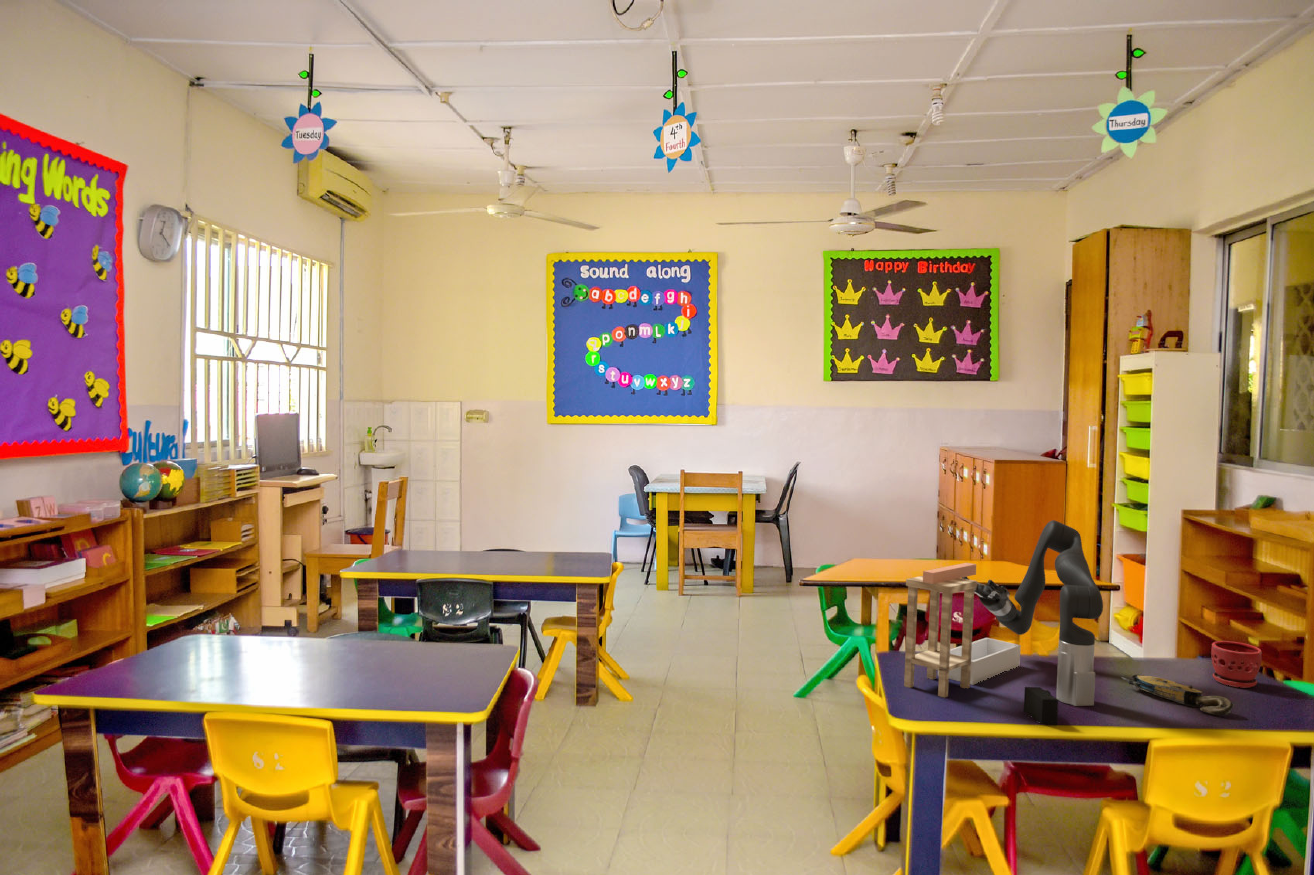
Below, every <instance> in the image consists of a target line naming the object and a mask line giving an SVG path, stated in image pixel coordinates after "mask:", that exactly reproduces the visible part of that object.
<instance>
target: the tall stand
mask: <svg viewBox="0 0 1314 875" xmlns="http://www.w3.org/2000/svg"><path fill="white" fill-rule="evenodd" d="M968 579H969V578H968ZM968 579H963V578H958V579H953V580H949V581H944V582H939V583H935V584H930V583H925V582H923V575H921V576H915V577H910V578H909V577H908V578H906V579H905V586H906V587H907V588H908V589H907V607H906V608H907V611H906V629H905V630H906V632H905V633H906V634H905V657H904V680H903V682H904V683H903V686H904V687H906V688H909V689H910V688H913V687H914V686H915V685H914V684H915V665H917V666H921V667H925V668H926V679H928V678H929V680H933V681H934V680H935V679H937V671H938V670H939V676H938V689H937V690H938V691H937V696H938V697H941V698H947V697H949V684H950V683H949V671H950V670H952V669H955V668H958V667H961V681H959V682H960V683H959V684H960V685H959V686H960V688H962V689H965V688H967V689H969V688H971V684H970V672H971V650H972V642H973V624H974V623H973V622H974V603H975V602H974V601H975V599H974V598H975V593H974V588H977V586H978V585H977V582H978V581H977V580H973V579H969V580H968ZM918 589H921V590H926V591H930V595H929V618H928V637H927V638H928V643H927V650H925V651H921V652H918V653H916V644H917V642H916V641H917V640H916V639H917V637H916V636H917V615H918V593H919V591H918ZM960 592H964V594H963V613H962V615H963V616H962V636H961V637H962V641H961V642H962V643H961V646H962V657H961V656H957V655H953V654H950V649H951V632H952V631H951V630H952V610H953V594H956V593H960ZM940 593H942V594H940ZM940 595H942V596H940ZM940 597H941V617H940V618H941V619H940V618H939V615H940ZM939 619H940V638H939ZM939 640H940V641H939ZM938 642H939V644H940V645H939V644H938ZM938 645H939V650H938Z"/></svg>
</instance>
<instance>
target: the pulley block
mask: <svg viewBox="0 0 1314 875" xmlns="http://www.w3.org/2000/svg"><path fill="white" fill-rule="evenodd" d="M1121 679H1123V680H1125V681H1126V682H1128V685H1131V686H1132V685H1133V686H1135V689H1136V690H1137V691H1139V690H1143V691H1145V692H1148V693H1151V694H1152V695H1155V696H1158V697H1160V698H1163V699H1167V700H1170V701H1173V702H1175V703H1176V704H1177V705H1179V704H1181V705H1186V706H1188V707H1191V708H1199V709H1200V711H1201V712H1203V713H1207V714H1210V715H1214V716H1223V715H1227V716H1228V715H1231V712H1232V710H1233V709H1234V708H1235V703H1233V701H1231V700H1230V699H1228V698H1227V697H1224V696H1221V695H1208V696H1207V695H1206V696H1202V693H1203V691H1201V690H1199V689H1196V688H1193V685H1189V686H1188V685H1184V684H1181V683H1177V682H1176V681H1173V680H1171V679H1170V680H1169V679H1167V678H1162V677H1158V676H1149V675H1143V674H1134V675H1131V678H1130V679H1129V678H1127V677H1123V676H1121ZM1201 706H1202V707H1201Z"/></svg>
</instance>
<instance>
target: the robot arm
mask: <svg viewBox="0 0 1314 875" xmlns="http://www.w3.org/2000/svg"><path fill="white" fill-rule="evenodd" d="M1048 549H1050V550H1051V551H1054V552H1057V553H1058V554H1057V556H1056V558H1055V560H1054V568H1055V572H1056V575H1057V577H1058V579H1059V581H1060V582H1061V583H1062V584H1063V585H1062V587H1061V588H1060V591H1059V633H1058V635H1059V636H1058V652H1057V654H1058V656H1057V671H1056V672H1057V676H1056V694H1055V695H1056V697H1055V698H1056V699H1058V702H1061V703H1065V704H1068V705H1071V706H1074V707H1085V706H1094V705H1095V687H1096V685H1095V684H1096V672H1095V671H1094V662H1095V642H1096V641H1095V640H1096V637H1095V634H1094V633H1093V632H1092V631H1090V630H1088V629H1085V628H1083V627H1082V626H1079V624H1076V623H1075V622H1074V620H1073V619H1074V618H1075V619H1082V620H1083V619H1084V620H1096V619H1098V618H1100V617H1101V615H1102V613H1103V611H1104V610H1103V609H1104V601H1103V600H1104V599H1103V597H1102V593H1101V591H1100V589H1099V587H1098V585H1097V584H1096V582H1095V581H1094V579H1093V576H1092V573H1091V570H1090V567H1089V564H1088V561H1087V559H1086V557H1085V554H1084V550H1083V544H1082V537H1081V534H1080V532H1079V531H1078V530H1077V529H1074V528H1073V527H1071V526H1069V525H1066V524H1064V523H1062V522H1060V521H1057V520H1050V521H1048V522H1047V523H1046V525H1045V526H1044V528H1043V529H1042V531H1041V533H1040V535H1039V538H1038V541H1037V543H1036V545H1035V548H1034V551H1033V554H1032V557H1031V559H1030V562H1029V565H1028V567H1027V571H1026V573H1025V574H1024V577H1023V578H1022V580H1021V583H1020V584H1019V586H1018V588H1017V590H1016V592H1015V594H1014V600H1015V601H1016V602H1017V603H1018V604H1019V606H1020V610H1019V609H1017V607H1016V605H1015V604H1014V602H1012V600H1011V599H1010V594H1011V593H1010V591H1009V590H1008V589H1007V588H1006V586H1004V585H1001V586H1000V585H999V584H997V583H995V582H994V581H993V580H992V579H988V581H987V583H986V584H984V583H981V582H978V581H977V588H974V595H975V594H976V595H977V596H978V598H979V601H980V603H981V604H982V605H983V606H984V607H985V608H986V609H987V610H988V611H989V612H990V613H992V614H993V615H994V616H995V618H996V620H997V621H998V622H999V623H1000V624H1001V625H1003V626H1004V627H1006V628H1007V629H1008V630H1010V631H1011V632H1013V633H1015V634H1016V635H1019V636H1022V635H1025V634H1026V633H1027V632H1029V631H1030V629H1031V627H1032V623H1033V618H1034V613H1035V609H1036V607H1037V606H1036V605H1037V603H1038V601H1039V600H1040V598H1041V596H1042V594H1043V592H1044V590H1045V587H1046V574H1045V556H1046V553H1047V550H1048ZM962 578H963V579H968V580H970V578H969V577H968V576H967V577H962Z"/></svg>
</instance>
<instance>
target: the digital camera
mask: <svg viewBox="0 0 1314 875" xmlns="http://www.w3.org/2000/svg"><path fill="white" fill-rule="evenodd" d="M1023 694H1024V695H1023V696H1024V697H1023V698H1024V700H1023V712H1024V713H1025V712H1026V713H1027V716H1029V715H1030V716H1032V717H1031V719H1033V720H1034V719H1035V720H1034V721H1036V722H1037V721H1038V722H1040V723H1041V724H1046V725H1045V726H1057V725H1058V711H1059V710H1058V709H1059V708H1058V707H1059V700H1058V699H1057V698H1056V697H1055V696H1054V695H1053V694H1051V692H1050V690H1046V689H1043V688H1042V687H1038V686H1037V687H1036V686H1025V687H1024V693H1023ZM1026 713H1025V714H1026ZM1030 716H1029V717H1030ZM1038 722H1037V723H1038ZM1040 723H1039V724H1040ZM1041 724H1040V725H1041ZM1048 724H1049V725H1048Z"/></svg>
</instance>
